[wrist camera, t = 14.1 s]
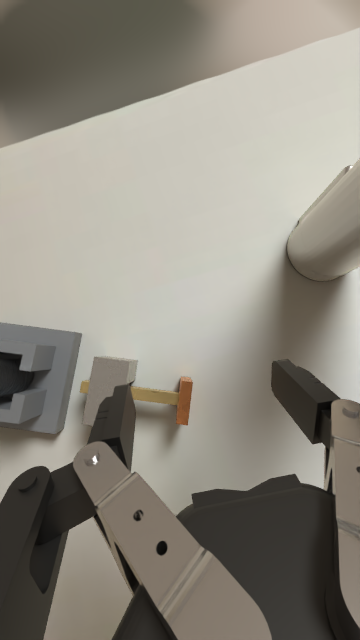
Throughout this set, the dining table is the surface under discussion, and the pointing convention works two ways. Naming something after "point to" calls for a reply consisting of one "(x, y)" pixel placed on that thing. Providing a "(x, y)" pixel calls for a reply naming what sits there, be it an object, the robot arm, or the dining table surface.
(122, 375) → the block
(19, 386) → the cylinder
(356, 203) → the robot arm
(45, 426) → the socket
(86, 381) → the lock pin
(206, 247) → the dining table surface
